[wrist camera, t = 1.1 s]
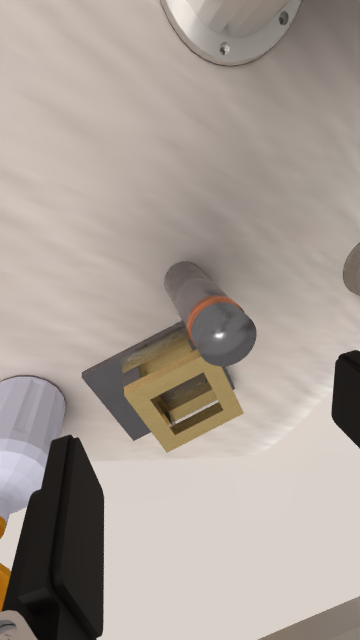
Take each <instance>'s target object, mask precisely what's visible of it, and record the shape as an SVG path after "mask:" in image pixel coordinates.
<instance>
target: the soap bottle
mask: <svg viewBox="0 0 360 640" xmlns="http://www.w3.org/2000/svg"><path fill="white" fill-rule="evenodd" d="M65 409H66V406H65V401H64V397H63V395H62V394H61V393H60V391H59V390H58V389H57V387H55V386H54V385H52V384H51V383H49V382H47V381H46V380H42V379H39V378H35V377H14V378H10V379H7V380H3V381H2V382H0V538H1V537H2V536H3V534H4V532H5V528H6V525H7V522H8V518H9V515H10V514H11V513H14V512H17V511H19V510H21V509H23V508H25V507H27V506H28V502H29V499H30V496H31V494H32V493H33V492H34V491H36V490H40V489H41V486H42V481H43V477H44V472H45V467H46V463H47V458H48V453H49V449H50V444H51V441H52V440H54V439H57V438H60V436H61V430H62V425H63V420H64V414H65ZM10 575H11V571H10V570H9V569H8V568H7V567H5V566H3V565H2V564H1V563H0V612H1V611H2V607H3V603H4V599H5V595H6V591H7V587H8V583H9V579H10Z"/></svg>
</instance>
